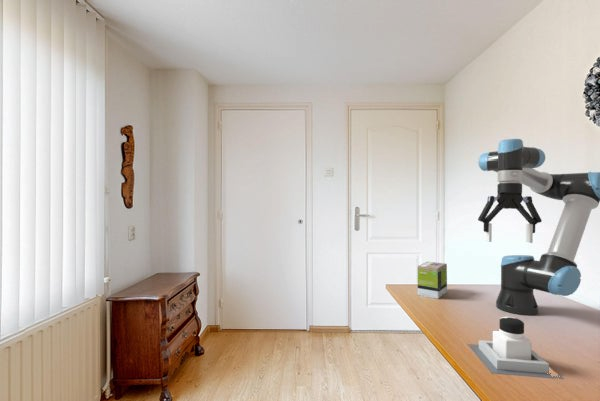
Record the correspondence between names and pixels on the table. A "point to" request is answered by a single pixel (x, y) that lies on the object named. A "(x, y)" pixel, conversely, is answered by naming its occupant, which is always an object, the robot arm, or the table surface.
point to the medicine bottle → (511, 340)
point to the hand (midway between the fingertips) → (508, 241)
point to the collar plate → (511, 362)
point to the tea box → (432, 279)
